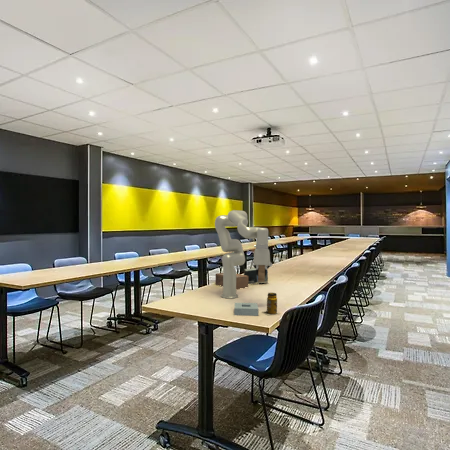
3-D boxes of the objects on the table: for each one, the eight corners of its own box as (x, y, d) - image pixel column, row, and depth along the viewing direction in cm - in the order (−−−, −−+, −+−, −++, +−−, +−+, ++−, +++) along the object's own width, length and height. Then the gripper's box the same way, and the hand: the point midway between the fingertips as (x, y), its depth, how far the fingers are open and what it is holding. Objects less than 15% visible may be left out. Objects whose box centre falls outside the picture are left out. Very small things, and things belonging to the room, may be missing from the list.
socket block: (234, 308, 211) (234, 302, 211) (257, 309, 210) (257, 303, 210) (234, 315, 197) (234, 308, 197) (258, 315, 196) (258, 308, 196)
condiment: (279, 314, 201) (280, 294, 201) (267, 315, 197) (267, 295, 197) (273, 311, 207) (273, 291, 207) (261, 312, 204) (261, 292, 204)
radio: (243, 285, 291) (243, 267, 291) (241, 283, 300) (241, 266, 300) (269, 284, 295) (269, 267, 295) (266, 282, 304) (266, 266, 304)
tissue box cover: (215, 285, 290) (215, 273, 290) (228, 283, 300) (228, 272, 299) (235, 290, 270) (235, 277, 270) (248, 288, 280) (248, 276, 280)
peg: (257, 280, 218) (258, 262, 218) (264, 280, 218) (264, 262, 218) (258, 281, 214) (258, 263, 214) (264, 282, 214) (265, 263, 214)
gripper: (249, 247, 212) (248, 276, 213) (275, 248, 212) (275, 277, 212) (248, 246, 220) (248, 274, 220) (274, 247, 219) (273, 275, 220)
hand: (261, 275), depth 216 cm, fingers closed on peg, 4 cm apart
